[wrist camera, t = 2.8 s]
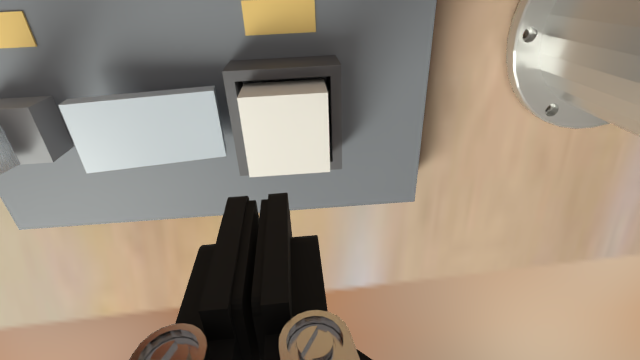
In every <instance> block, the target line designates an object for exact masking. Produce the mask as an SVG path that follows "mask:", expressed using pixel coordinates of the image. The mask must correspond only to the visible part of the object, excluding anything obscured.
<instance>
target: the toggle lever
mask: <svg viewBox="0 0 640 360" xmlns="http://www.w3.org/2000/svg"><path fill="white" fill-rule="evenodd" d="M18 165H20V162H19V160H18V158H17V156H16V154H15V152H14V150H13V148H12V146H11V144H10V142H9V140H8V138H7V136H6V134H5V132H4V131H3V129H2V127H1V125H0V174H2V173H4V172H6V171H8V170H10V169H12V168H14V167H16V166H18Z"/></svg>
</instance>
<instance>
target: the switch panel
mask: <svg viewBox="0 0 640 360" xmlns="http://www.w3.org/2000/svg"><path fill="white" fill-rule="evenodd" d="M436 2H437V0H0V125H1V127H2V129H3V131H4V132H5V134H6V136H7V138H8V140H9V142H10V144H11V146H12V148H13V150H14V152H15V154H16V156H17V158H18V160H19V162H20V165H18V166H16V167H14V168H12V169H10V170H8V171H6V172H4V173H2V174H0V197H1V199H2V201H3V202H4V204H5V206H6V207H7V209H8V211H9V213H10V214H11V216H12V218H13V220H14V221H15V223H16V225H17V227H18V228H19V230H22V229H36V228H50V227H64V226H78V225H92V224H106V223H120V222H134V221H148V220H162V219H176V218H190V217H204V216H217V215H223V214H224V210H225V206H226V202H227V199H228V197H237V196H248V197H249V200H256V202H257V208H258V213H259V212H260V207H261V200H262V199H268V194H275V193H288V201H289V210H301V209H315V208H329V207H343V206H357V205H371V204H385V203H399V202H413V201H415V192H416V183H417V174H418V165H419V156H420V147H421V138H422V129H423V119H424V110H425V101H426V92H427V83H428V74H429V65H430V56H431V47H432V38H433V29H434V20H435V11H436ZM318 79H324V82H325V85H326V88H327V91H328V113H329V148H330V172H322V173H307V174H292V175H277V176H263V177H249V170H248V164H247V158H246V151H245V145H244V139H243V133H242V126H241V120H240V114H239V107H238V101H237V97H238V95H239V92H240V90H241V88H242V86H243V84H248V83H266V82H283V81H300V80H318ZM204 86H215V90H216V95H217V101H218V106H219V111H220V117H221V122H222V127H223V133H224V138H225V143H226V149H227V150H226V156H225V157H217V158H209V159H201V160H193V161H184V162H176V163H168V164H160V165H152V166H144V167H136V168H128V169H120V170H111V171H103V172H95V173H86V171H85V168H84V166H83V163H82V161H81V159H80V156H79V154H78V151H77V149H76V147H75V144H74V142H73V139H72V137H71V135H70V132H69V130H68V127H67V125H66V123H65V120H64V118H63V115H62V113H61V111H60V108H59V106H58V105H59V104H61V103H62V102H63V101H65V100H66V99H73V98H84V97H95V96H106V95H117V94H127V93H138V92H149V91H160V90H171V89H182V88H193V87H204Z"/></svg>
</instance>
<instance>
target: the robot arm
mask: <svg viewBox="0 0 640 360" xmlns="http://www.w3.org/2000/svg"><path fill="white" fill-rule="evenodd" d="M524 31H525V33H524ZM523 33H524V35H523ZM522 35H523V36H522ZM506 63H507V72H508V78H509V81H510V83H511V86H512V89H513V92H514V93H515V95H516V96H517V98H518V100H519V101H520V103H521V104H522V105H523V106H524V107H525V108H526V109H527V110H529V111H530V112H531V113H532V114H533V115H535V116H537V117H538V118H540V119H542V120H544V121H545V122H548V123H551V124H553V125H556V126H559V127H565V128H572V129H581V128H594V127H598V126H602V125H606V124H610V123H611V124H613V125H615V126H618V127H620V128H622V129H624V130H626V131H629V132H631V133H633V134H635V135H637V136H640V0H520V2H519V4H518V6H517V9H516V11H515V14H514V16H513V19H512V23H511V27H510V31H509V35H508V39H507V52H506ZM129 360H372V359H370V358H369V357H367V356H366V355H365V354H363V353H362V352H360V351H359V350H357V349H356V347H355V344H354V342H353V339H352V336H351V333H350V331H349V329H348V327H347V326H346V324H345V322H344V321H342V320H341V319H340V318H339V317H338V316H337V315H334V314H332V313H330V312H328V311H327V304H326V296H325V289H324V281H323V274H322V266H321V258H320V251H319V243H318V236H317V235H314V236H302V237H292V231H291V221H290V211H289V201H288V193H275V194H268V199H262V200H261V207H260V216H259V215H258V208H257V202H256V200H249V197H248V196H237V197H228V199H227V202H226V206H225V210H224V214H223V218H222V222H221V226H220V229H219V233H218V237H217V241H216V244H211V245H202V246H201V247H200V248H199V251H198V254H197V257H196V260H195V263H194V266H193V270H192V273H191V276H190V279H189V282H188V285H187V289H186V292H185V295H184V298H183V301H182V304H181V308H180V311H179V314H178V317H177V320H176V323H175V324H172V325H169V326H166V327H163V328H161V329H159V330H157V331H155V332H154V333H152V334H150V335H149V336H148V337H147V338H146V339H145V340H143V341H142V342H141V343H140V344H139V346H138V347H137V349H136V350H135V351H134V353H133V354H132V356H131V358H130V359H129Z"/></svg>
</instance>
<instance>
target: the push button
mask: <svg viewBox="0 0 640 360" xmlns="http://www.w3.org/2000/svg"><path fill="white" fill-rule="evenodd" d="M237 101H238V107H239V114H240V120H241V126H242V133H243V139H244V145H245V151H246V158H247V164H248V170H249V177H263V176H277V175H292V174H307V173H322V172H330V148H329V113H328V91H327V88H326V85H325V82H324V79H318V80H300V81H283V82H266V83H248V84H243V86H242V88H241V90H240V92H239V95H238V97H237Z"/></svg>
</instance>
